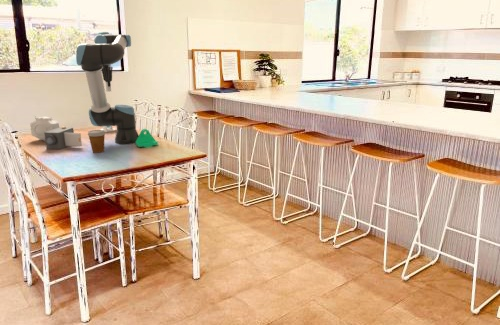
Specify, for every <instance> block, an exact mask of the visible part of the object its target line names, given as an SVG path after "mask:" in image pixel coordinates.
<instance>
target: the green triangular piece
mask: <svg viewBox="0 0 500 325" xmlns="http://www.w3.org/2000/svg"><path fill="white" fill-rule="evenodd" d="M135 145H136V146H137V147H143V148H145V149H146V148H153V146H157V145H159V142H158V141H157V140H156V139H155V137H154V136H153V135H152V133H150V131H149V130H148V129H146V128H142V129H141V131H140V133H138V138H137V140H136V143H135Z"/></svg>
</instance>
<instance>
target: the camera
mask: <svg viewBox="0 0 500 325" xmlns="http://www.w3.org/2000/svg"><path fill="white" fill-rule="evenodd" d="M34 119H35V120H34V121H32V122H31V123H30V133H31V136H32V137H34V138H36V139H38V140H39V141H44V142H45V134H44V132H47V131H50V130H53V129H56V128H59V127H60V123H59V122H58V121H57V120H54V119H53V118H52V117H48V116H46V115H45V116H39V117H36V116H35V115H34Z"/></svg>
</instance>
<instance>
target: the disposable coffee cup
mask: <svg viewBox="0 0 500 325" xmlns="http://www.w3.org/2000/svg"><path fill="white" fill-rule="evenodd" d="M87 135H88V138H89V143H90V145H91V151H92V152H93V153H94V154H97V153H100V154H101V153H103V152H105V135H106V132H104V130H100V129H92V130H89V131H88V132H87Z"/></svg>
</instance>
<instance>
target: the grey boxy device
mask: <svg viewBox="0 0 500 325" xmlns="http://www.w3.org/2000/svg"><path fill="white" fill-rule="evenodd" d="M64 133H75V130H74V127H67V126H59V128H56V129H53V130H50V131H47V132H44V134H45V141H44V142H45V147H46V149H47V150H62V149H65V148H67V147H68V146H65V139H64Z"/></svg>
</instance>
